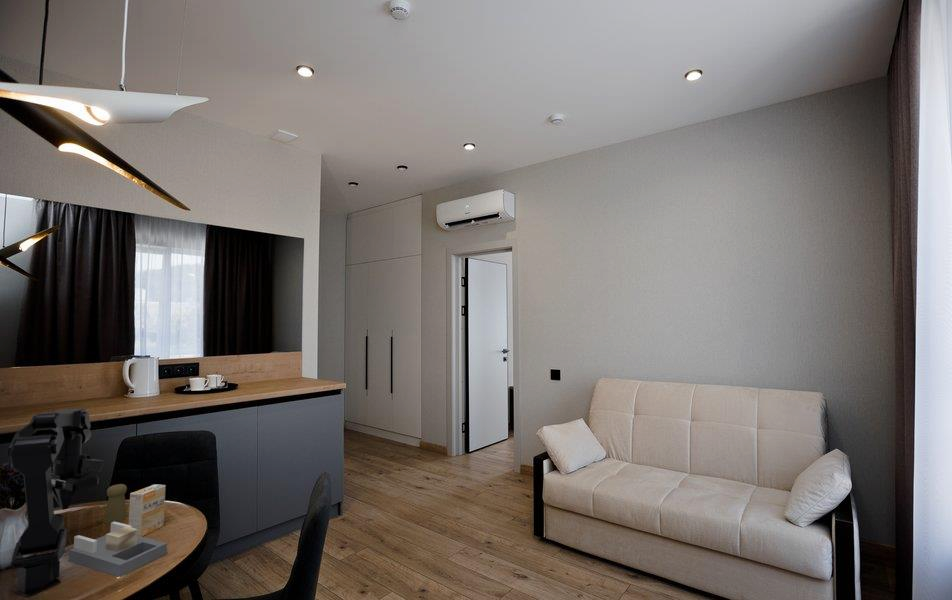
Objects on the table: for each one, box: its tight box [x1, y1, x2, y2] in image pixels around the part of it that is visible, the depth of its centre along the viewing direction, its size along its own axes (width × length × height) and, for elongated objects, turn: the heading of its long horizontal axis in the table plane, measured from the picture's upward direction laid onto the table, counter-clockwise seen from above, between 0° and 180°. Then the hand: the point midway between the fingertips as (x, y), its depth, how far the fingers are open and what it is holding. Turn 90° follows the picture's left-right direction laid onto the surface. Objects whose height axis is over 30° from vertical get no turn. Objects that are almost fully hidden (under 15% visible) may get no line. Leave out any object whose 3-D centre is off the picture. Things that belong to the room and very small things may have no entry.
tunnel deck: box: [68, 521, 168, 578], centre depth 123 cm, size 12×21×6 cm, turn 70°
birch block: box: [105, 526, 138, 552], centre depth 123 cm, size 5×5×4 cm
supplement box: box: [128, 484, 166, 537], centre depth 138 cm, size 8×5×13 cm, turn 168°
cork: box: [103, 483, 128, 524], centre depth 146 cm, size 6×6×11 cm
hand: (64, 509), depth 125 cm, fingers closed
